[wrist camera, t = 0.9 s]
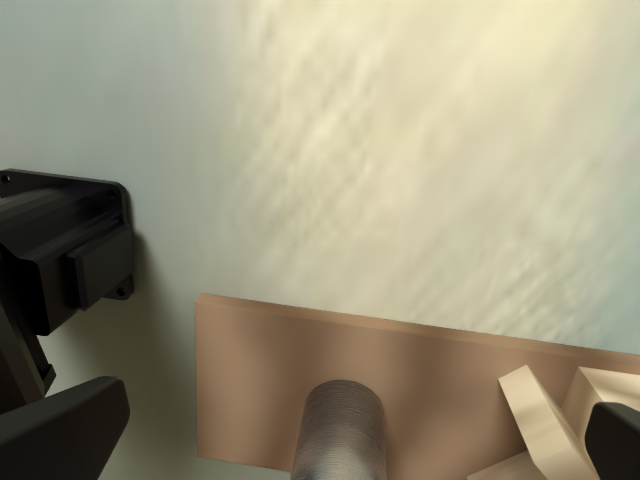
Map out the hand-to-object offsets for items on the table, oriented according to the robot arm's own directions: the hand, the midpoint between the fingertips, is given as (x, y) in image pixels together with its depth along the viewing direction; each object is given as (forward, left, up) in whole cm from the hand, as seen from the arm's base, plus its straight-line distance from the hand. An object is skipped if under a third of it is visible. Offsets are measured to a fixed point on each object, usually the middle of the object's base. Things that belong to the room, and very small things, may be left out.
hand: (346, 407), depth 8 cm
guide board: (+4, -11, -13) cm, 18 cm away
